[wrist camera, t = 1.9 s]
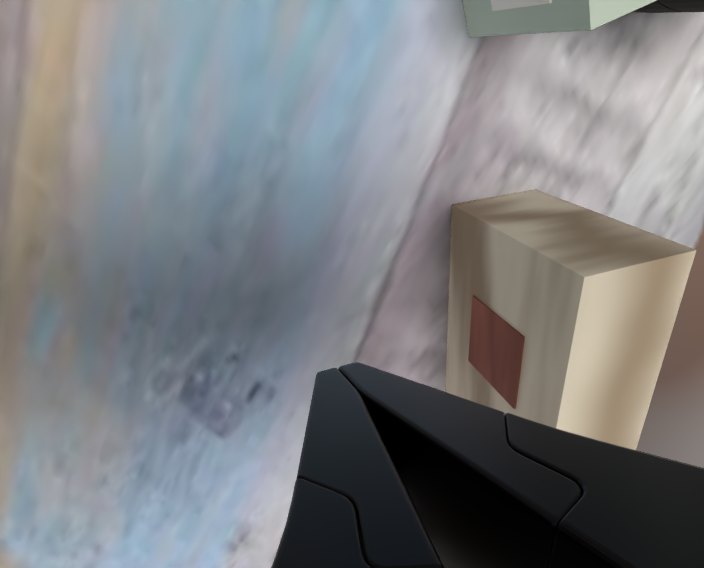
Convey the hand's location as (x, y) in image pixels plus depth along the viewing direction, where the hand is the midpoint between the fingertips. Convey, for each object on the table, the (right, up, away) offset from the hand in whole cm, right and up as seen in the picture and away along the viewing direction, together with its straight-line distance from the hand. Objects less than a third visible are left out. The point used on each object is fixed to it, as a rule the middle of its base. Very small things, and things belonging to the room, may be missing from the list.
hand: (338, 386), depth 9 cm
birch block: (+8, +1, +18) cm, 20 cm away
